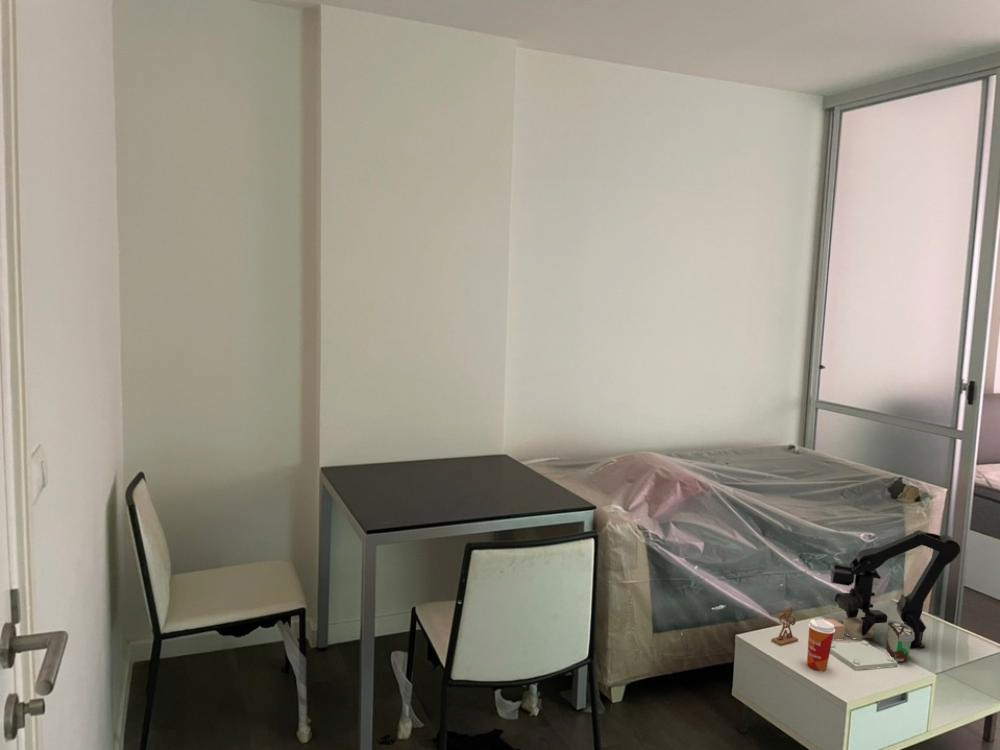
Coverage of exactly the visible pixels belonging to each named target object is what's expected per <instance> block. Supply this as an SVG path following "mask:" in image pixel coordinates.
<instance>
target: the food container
mask: <svg viewBox="0 0 1000 750" xmlns="http://www.w3.org/2000/svg"><path fill="white" fill-rule="evenodd" d="M886 634H887V635H886V644H885V650H887V651H886V652H888V653H889V654H890V656H891V657H893V658H894V660H895V661H897V662H898V664H905V662H906V663H907V662H908V657H909V655H910V650H911V648H910V646H911V642H912V641H913V640H914V639H915V637H914V632H913V630H912V628H910V627H909V626H907V625H905V624H904V622H903V623H902V622H899V621H896V620H892V619H888V620H887V633H886ZM888 653H887V654H888ZM889 654H888V655H889Z"/></svg>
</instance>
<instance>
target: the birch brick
mask: <svg viewBox="0 0 1000 750" xmlns="http://www.w3.org/2000/svg"><path fill="white" fill-rule="evenodd" d="M860 617H861V616H857V617H851V618H847V617H843V618H842V619H843V620H842V624H843V625H844V626H845V631H844V634H845V633H846V634H848V635H849V636H851V637H853V638H858V639H868V638H869V639H870V638H873V637H874V636H873V635H874V629H875V624H874V625H873V626H872V627H871V629H870V630H869V631H868V632H867V634H866V635H865V636H863V635H862V624H863V621H862V619H861V618H860ZM846 634H845V635H846ZM848 635H847V636H848ZM849 636H848V637H849ZM851 637H850V638H851ZM853 638H852V639H853Z"/></svg>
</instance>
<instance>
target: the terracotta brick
mask: <svg viewBox="0 0 1000 750" xmlns="http://www.w3.org/2000/svg"><path fill="white" fill-rule="evenodd" d="M822 620H825V621H828V622H830V623H832V624H833V625H834V629H835V632H834V634H833V639H834V640H833V639H832V641H836V640H835V639H843V640H844V638H845V633H844V631H845V626H844V625H843V623H841V622H840V621H838V620H837V619H835V618H827V619H822Z"/></svg>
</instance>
